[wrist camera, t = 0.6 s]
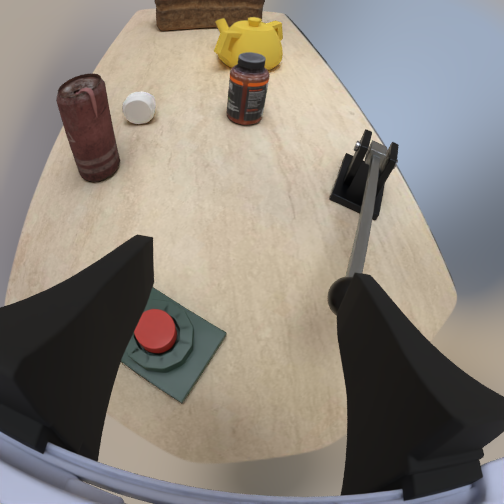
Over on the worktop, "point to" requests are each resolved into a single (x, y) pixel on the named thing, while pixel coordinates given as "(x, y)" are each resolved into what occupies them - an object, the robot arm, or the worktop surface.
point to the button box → (176, 350)
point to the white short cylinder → (139, 107)
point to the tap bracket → (361, 176)
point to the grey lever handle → (360, 227)
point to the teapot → (249, 41)
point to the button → (156, 331)
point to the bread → (204, 12)
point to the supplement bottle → (247, 89)
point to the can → (89, 126)
